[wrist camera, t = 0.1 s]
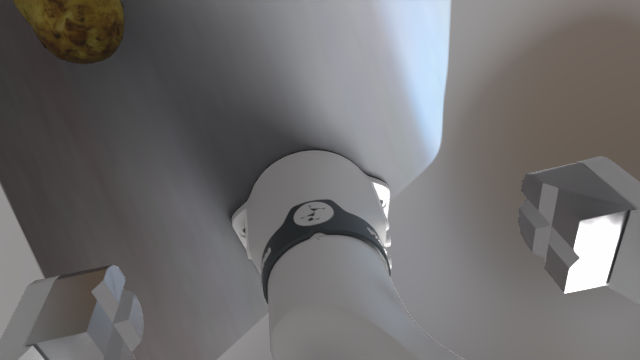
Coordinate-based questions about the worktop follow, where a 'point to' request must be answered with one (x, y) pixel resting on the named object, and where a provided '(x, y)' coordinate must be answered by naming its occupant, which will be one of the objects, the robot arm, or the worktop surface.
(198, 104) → the worktop surface
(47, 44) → the potato
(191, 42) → the worktop surface
